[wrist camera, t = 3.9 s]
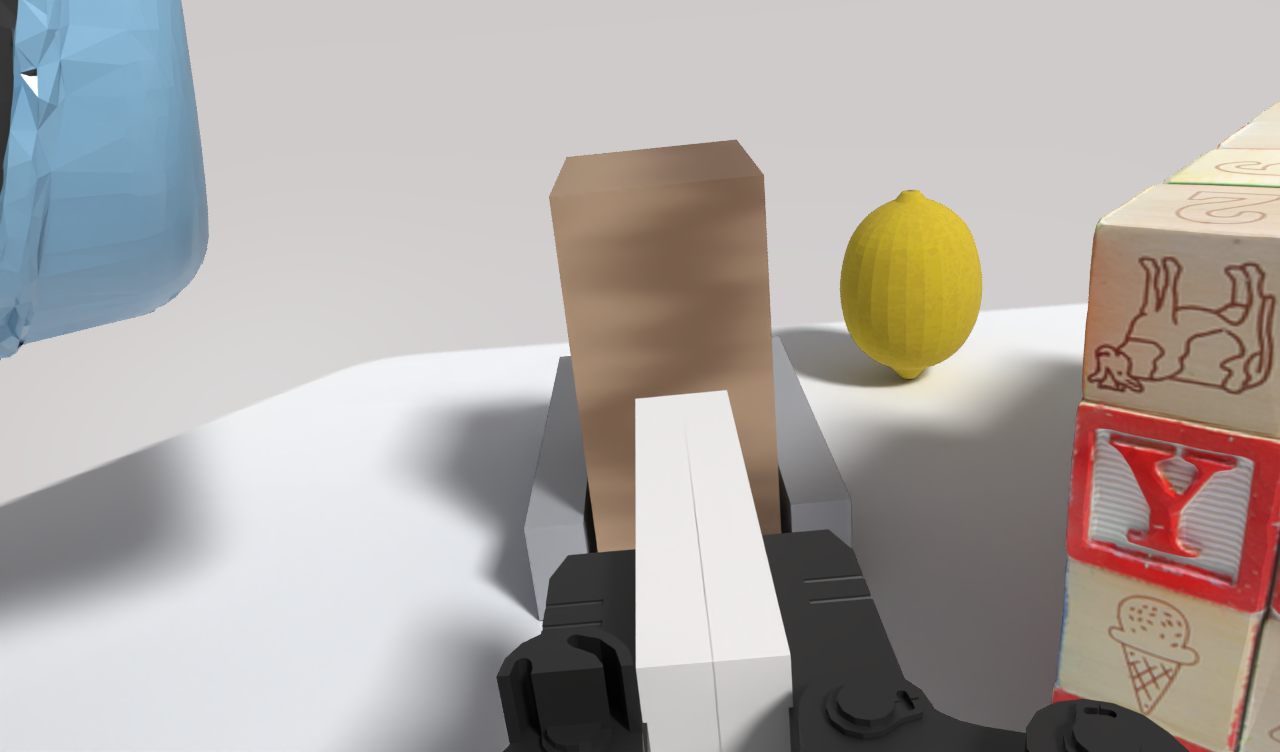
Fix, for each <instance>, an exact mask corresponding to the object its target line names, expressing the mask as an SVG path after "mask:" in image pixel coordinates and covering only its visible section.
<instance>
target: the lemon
mask: <svg viewBox="0 0 1280 752" xmlns="http://www.w3.org/2000/svg"><path fill="white" fill-rule="evenodd" d="M840 295H841V296H840V297H841V305H842V310H843V315H844V319H845V322H846V326H847V329H848V331H849V333H850V335H851V337H852V338H853V340H854V342H855V343H856V344H857V345H858V346H859V348H860V349H861V350H862V351H863V352H864V353H866V354H867V355H868V356H869V357H870V358H872V359H873V360H875V361H877V362H879V363H881V364H883V365H886V366H889V367H892V368H893V370H894V371H895V372H897V373H898V374H899V375H900V376H901V377H902V378H905V379H913V378H916V377H917V376H918V375H919V374H920V373H921V372H922V371H923V370H924V369H925V368H926V367H929V366H933V365H936V364H938V363H940V362H942V361H944V360H946V359H947V358H949V357H950V356H952V355H953V354H954V353H955V352H956V351H958V350H959V348H960V347H961V346H962V345H963V344H964V342H965V341H966V340H967V338H968V336H969V335H970V333H971V331H972V329H973V327H974V325H975V322H976V320H977V317H978V313H979V309H980V304H981V298H982V274H981V267H980V261H979V256H978V252H977V249H976V245H975V242H974V239H973V236H972V234H971V232H970V230H969V228H968V227H967V225H966V223H965V222H964V221H963V220H962V219H961V218H960V217H959V216H958V215H957V214H956V213H954V212H953V211H952V210H950V209H949V208H947V207H945V206H944V205H943V204H941V203H938V202H936V201H933V200H929V199H926V198H925V197H924V195H923V194H922V193H921V192H920V191H918V190H906V191H902V192H901V194H900V195H899V196H898V197H897V198H896V200H893V201H891V202H888V203H886V204H884V205H882V206H880V207H879V208H877V209H876V210H874V211H873V212H871V213H870V214H869V215H868V216H867V217H866V218H865V219H864V220H863V221H862V222H861V223H860V224H859V226H858V227H857V229H856V230H855V232H854V233H853V235H852V237H851V239H850V241H849V244H848V246H847V249H846V253H845V257H844V261H843V265H842V271H841V280H840Z"/></svg>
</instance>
